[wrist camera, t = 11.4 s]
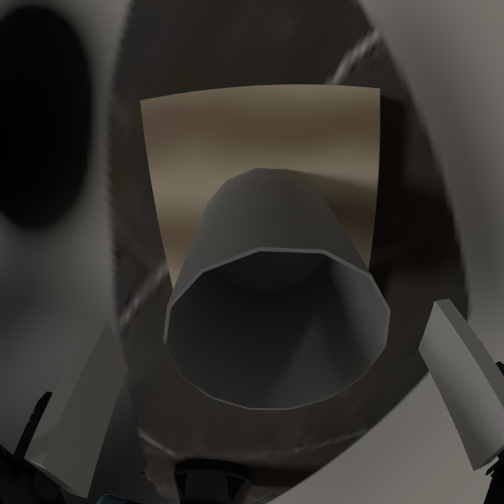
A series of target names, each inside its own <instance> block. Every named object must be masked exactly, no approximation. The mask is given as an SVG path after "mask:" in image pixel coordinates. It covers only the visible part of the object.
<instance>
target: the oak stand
mask: <svg viewBox="0 0 504 504" xmlns="http://www.w3.org/2000/svg"><path fill="white" fill-rule="evenodd" d="M140 102H141V111H142V120H143V128H144V136H145V143H146V150H147V157H148V164H149V170H150V176H151V182H152V188H153V194H154V200H155V205H156V211H157V216H158V221H159V226H160V231H161V236H162V241H163V246H164V250H165V255H166V260H167V264H168V269H169V273H170V277H171V281H172V286H173V289H174V286H175V284H176V281H177V278H178V276H179V273H180V270H181V268H182V265H183V262H184V260H185V257H186V255H187V252H188V249H189V247H190V244H191V242H192V239H193V237H194V234H195V232H196V229H197V227H198V224H199V222H200V219H201V217H202V215H203V212H204V210H205V207H206V205H207V203H208V202H209V200H210V199H211V198H212V197H213V196H214V194H215V193H216V192H217V191H218V190H219V189H220V187H221V186H222V185H223V184H224V183H225V182H226V180H228V179H231V178H233V177H235V176H238V175H240V174H242V173H245V172H247V171H250V170H252V169H254V168H269V169H287V170H290V171H292V172H293V173H295V174H297V175H299V176H301V177H302V178H304V179H306V180H308V181H309V182H311V183H313V184H315V185H316V187H317V188H318V190H319V191H320V193H321V194H322V196H323V197H324V199H325V200H326V202H327V204H328V205H329V207H330V208H331V210H332V211H333V213H334V214H335V216H336V217H337V219H338V221H339V222H340V224H341V225H342V227H343V229H344V230H345V232H346V233H347V235H348V237H349V238H350V240H351V241H352V243H353V245H354V246H355V248H356V250H357V251H358V253H359V255H360V256H361V258H362V260H363V262H364V263H365V265H366V267H367V268H368V270H369V263H370V256H371V249H372V240H373V232H374V222H375V212H376V201H377V188H378V172H379V150H380V89H377V88H367V87H354V86H336V85H264V86H246V87H233V88H222V89H212V90H204V91H196V92H188V93H181V94H175V95H169V96H163V97H157V98H152V99H147V100H141V101H140Z"/></svg>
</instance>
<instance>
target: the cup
mask: <svg viewBox="0 0 504 504" xmlns="http://www.w3.org/2000/svg"><path fill="white" fill-rule="evenodd" d="M389 319H390V309H389V307H388V305H387V303H386V301H385V299H384V297H383V295H382V294H381V292H380V290H379V288H378V286H377V284H376V283H375V281H374V279H373V277H372V275H371V274H370V272H369V270H368V268H367V267H366V265H365V263H364V262H363V260H362V258H361V256H360V255H359V253H358V251H357V250H356V248H355V246H354V245H353V243H352V241H351V240H350V238H349V237H348V235H347V233H346V232H345V230H344V229H343V227H342V225H341V224H340V222H339V221H338V219H337V217H336V216H335V214H334V213H333V211H332V210H331V208H330V207H329V205H328V204H327V202H326V200H325V199H324V197H323V196H322V194H321V193H320V191H319V190H318V188H317V187H316V185H315V184H313V183H311V182H309V181H308V180H306V179H304V178H302V177H301V176H299V175H297V174H295V173H293V172H292V171H290V170H287V169H269V168H254V169H252V170H250V171H247V172H245V173H242V174H240V175H238V176H235V177H233V178H231V179H228V180H226V182H225V183H224V184H223V185H222V186H221V187H220V189H219V190H218V191H217V192H216V193H215V194H214V196H213V197H212V198H211V199H210V200H209V202H208V203H207V205H206V207H205V210H204V212H203V215H202V217H201V219H200V222H199V224H198V227H197V229H196V232H195V234H194V237H193V239H192V242H191V244H190V247H189V249H188V252H187V255H186V257H185V260H184V262H183V265H182V268H181V270H180V273H179V276H178V278H177V281H176V284H175V286H174V289H173V292H172V295H171V297H170V300H169V303H168V306H167V313H166V321H165V330H164V338H163V345H164V347H165V349H166V351H167V353H168V355H169V357H170V359H171V360H172V362H173V364H174V366H175V368H176V370H177V372H178V373H179V375H180V376H181V377H182V378H183V379H185V380H186V381H187V382H189V383H190V384H192V385H193V386H194V387H196V388H197V389H198V390H200V391H201V392H203V393H204V394H205V395H207V396H208V397H210V398H212V399H215V400H218V401H222V402H225V403H228V404H232V405H235V406H239V407H242V408H246V409H255V410H288V409H294V408H298V407H302V406H305V405H309V404H313V403H316V402H320V401H323V400H326V399H330V398H331V397H333V396H335V395H336V394H338V393H340V392H341V391H343V390H344V389H346V388H347V387H349V386H351V385H352V384H354V383H355V382H357V381H358V380H360V379H361V378H363V377H364V376H365V374H366V373H367V372H368V370H369V369H370V368H371V366H372V365H373V364H374V362H375V361H376V360H377V358H378V357H379V355H380V354H381V353H382V351H383V350H384V348H385V347H386V341H387V334H388V327H389Z"/></svg>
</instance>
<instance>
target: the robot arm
mask: <svg viewBox="0 0 504 504" xmlns="http://www.w3.org/2000/svg"><path fill="white" fill-rule="evenodd" d="M418 350H419V352H420V354H421V356H422V358H423V360H424V361H425V363H426V365H427V367H428V369H429V371H430V373H431V375H432V377H433V379H434V381H435V383H436V385H437V387H438V389H439V391H440V393H441V396H442V398H443V400H444V402H445V404H446V406H447V408H448V410H449V413H450V415H451V417H452V419H453V422H454V424H455V426H456V428H457V430H458V433H459V435H460V438H461V440H462V443H463V445H464V448H465V450H466V452H467V455H468V458H469V460H470V463H471V465H472V468H473V471H475V470H477V469H479V468H481V467H483V466H485V465H487V464H488V463H490V462H491V461H492V460H493V459H494V458H495V457H497V456H498V458H499V460H498V461H497V462H496V463H495V464H494V465H493V466H491V467H490V468H489V469H488V470H487V472H486V474H485V475H488V474H490V473H491V472H492V471H493V470H494V472H493V473H492V474H491V477H492V480H491V483H490V486H489V489H488V492H487V495H486V498H485V501H484V504H504V364H503V363H501V362H500V361H499V362H497V363H495V362H494V361H493V359H492V357H491V356H490V354H489V353H488V352H487V350H486V349H485V347H484V346H483V344H482V343H481V341H480V340H479V338H478V337H477V336H476V334H475V333H474V331H473V330H472V329H471V327H470V326H469V325H468V323H467V322H466V321H465V319H464V318H463V317H462V315H461V314H460V313H459V311H458V310H457V309H456V307H455V306H454V305H453V304H452V302H451V301H450V300H449V299H446V300H440V301H435V302H434V305H433V309H432V312H431V315H430V318H429V321H428V324H427V327H426V330H425V332H424V335H423V338H422V341H421V343H420V346H419V349H418ZM127 370H128V366H127V364H126V362H125V360H124V358H123V355H122V353H121V351H120V349H119V347H118V344H117V342H116V340H115V338H114V335H113V333H112V331H111V328H110V326H109V324H108V322H107V321H92V322H91V324H90V326H89V327H88V329H87V331H86V332H85V335H84V336H83V338H82V340H81V341H80V343H79V345H78V347H77V348H76V350H75V352H74V354H73V356H72V357H71V359H70V361H69V363H68V365H67V367H66V369H65V371H64V373H63V375H62V376H61V378H60V380H59V382H58V385H57V386H56V388H55V390H54V392H53V393H52V392H46V393H45V394H44V395H43V396H42V397H41V398H40V400H38V402H37V405H36V406H35V409H34V411H33V414H32V415H31V417H30V419H29V422H28V423H27V425H26V427H25V430H24V432H23V434H22V436H21V439H20V441H19V443H18V446H17V448H16V450H15V452H14V454H13V455H12V454H11V453H10V452H8V451H7V450H6V449H5V448H4V447H3V446H2V445H1V444H0V504H66V502H65V500H64V497H63V496H62V494H61V492H60V488H61V487H62V488H64V489H65V490H66V491H68V492H70V493H72V494H75V495H78V496H81V497H84V498H87V496H88V492H89V488H90V485H91V481H92V477H93V474H94V470H95V467H96V463H97V460H98V456H99V453H100V450H101V446H102V443H103V440H104V437H105V433H106V430H107V427H108V424H109V421H110V418H111V415H112V412H113V409H114V407H115V404H116V401H117V398H118V395H119V392H120V389H121V387H122V384H123V381H124V378H125V375H126V373H127ZM174 478H175V483H176V487H177V491H178V496H179V500H180V504H244V502H245V500H246V498H247V495H248V493H249V490H250V488H251V485H252V473H251V472H250V471H249V470H248V469H246V468H244V467H241V466H238V465H235V464H231V463H226V462H219V461H209V460H191V461H184V462H181V463H178V464H177V465H176V466H175V472H174ZM97 504H142V503H138V502H135V501H132V500H130V499H125V498H121V497H117V496H113V495H109V494H108V495H104V496H102V497H101V498H100V500H99V501H98V503H97Z"/></svg>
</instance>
